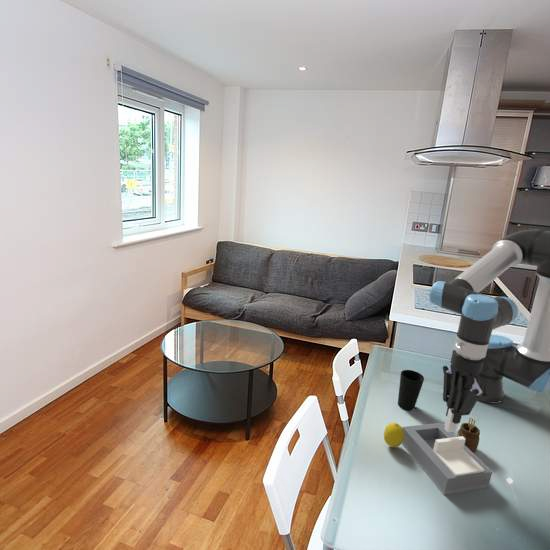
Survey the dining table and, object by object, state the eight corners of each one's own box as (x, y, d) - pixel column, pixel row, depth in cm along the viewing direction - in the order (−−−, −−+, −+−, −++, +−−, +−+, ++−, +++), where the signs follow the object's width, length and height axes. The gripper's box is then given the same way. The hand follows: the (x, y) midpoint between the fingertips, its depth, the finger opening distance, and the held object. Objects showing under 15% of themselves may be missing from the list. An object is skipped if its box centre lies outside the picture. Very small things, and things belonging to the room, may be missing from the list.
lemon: (401, 443, 115) (406, 420, 113) (400, 455, 110) (405, 432, 108) (382, 438, 116) (387, 415, 114) (381, 449, 111) (385, 426, 109)
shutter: (459, 447, 108) (462, 436, 107) (484, 471, 100) (487, 459, 98) (432, 451, 105) (435, 439, 104) (455, 476, 97) (458, 464, 96)
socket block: (438, 436, 120) (441, 422, 118) (487, 487, 101) (492, 471, 100) (399, 440, 116) (402, 426, 114) (443, 494, 97) (448, 478, 96)
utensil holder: (477, 447, 116) (487, 413, 113) (473, 458, 111) (483, 423, 108) (457, 438, 120) (465, 405, 116) (452, 448, 115) (461, 414, 111)
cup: (418, 414, 130) (426, 383, 127) (395, 409, 131) (402, 379, 128) (415, 401, 137) (422, 372, 134) (393, 397, 138) (399, 368, 135)
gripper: (440, 342, 104) (423, 416, 111) (475, 367, 92) (455, 448, 99) (462, 341, 106) (445, 413, 113) (500, 365, 94) (478, 444, 101)
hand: (449, 429), depth 106 cm, fingers closed
